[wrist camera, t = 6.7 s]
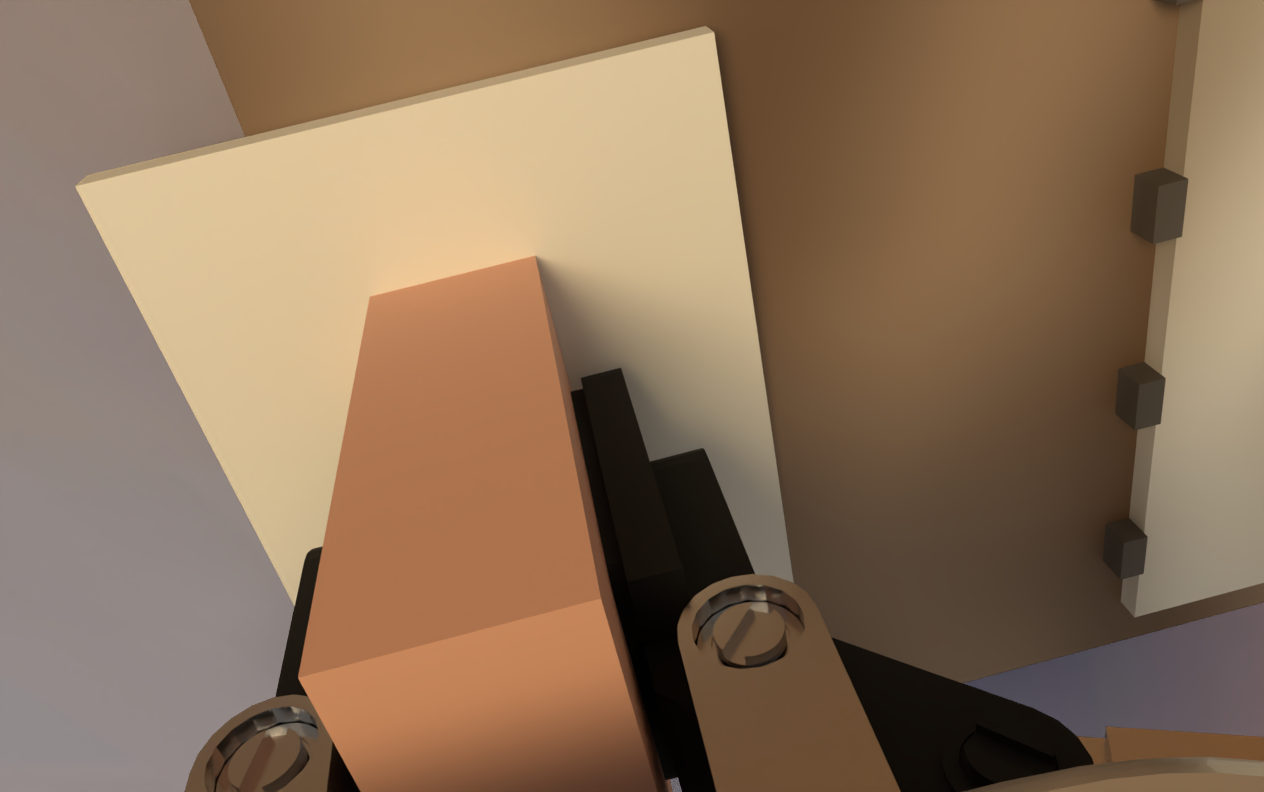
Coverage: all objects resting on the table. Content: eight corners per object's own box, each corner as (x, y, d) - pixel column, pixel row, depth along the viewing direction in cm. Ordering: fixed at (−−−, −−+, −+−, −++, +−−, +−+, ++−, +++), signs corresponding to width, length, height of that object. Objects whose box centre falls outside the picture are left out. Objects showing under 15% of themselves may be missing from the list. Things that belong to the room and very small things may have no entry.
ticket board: (2175, -532, 11) (2632, -630, 9) (1714, 427, 19) (1898, 513, 16) (192, -70, 11) (116, -43, 8) (516, 746, 18) (526, 887, 15)
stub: (706, 26, 11) (965, 219, 5) (798, 648, 16) (977, 1071, 10) (87, 175, 10) (-315, 541, 5) (386, 757, 16) (349, 1248, 10)
